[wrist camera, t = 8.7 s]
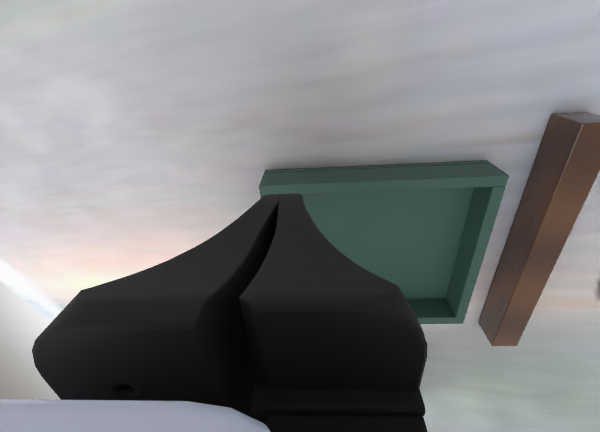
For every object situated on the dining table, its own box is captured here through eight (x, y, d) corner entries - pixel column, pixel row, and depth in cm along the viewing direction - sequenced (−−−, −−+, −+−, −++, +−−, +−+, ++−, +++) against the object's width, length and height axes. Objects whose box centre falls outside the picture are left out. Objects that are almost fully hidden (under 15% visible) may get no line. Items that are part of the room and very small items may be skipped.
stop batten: (501, 322, 26) (517, 346, 24) (477, 322, 27) (491, 346, 25) (586, 111, 17) (623, 121, 15) (550, 113, 18) (582, 123, 15)
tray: (450, 299, 25) (463, 323, 23) (282, 302, 26) (279, 325, 24) (487, 160, 19) (509, 175, 17) (264, 170, 20) (259, 185, 18)
